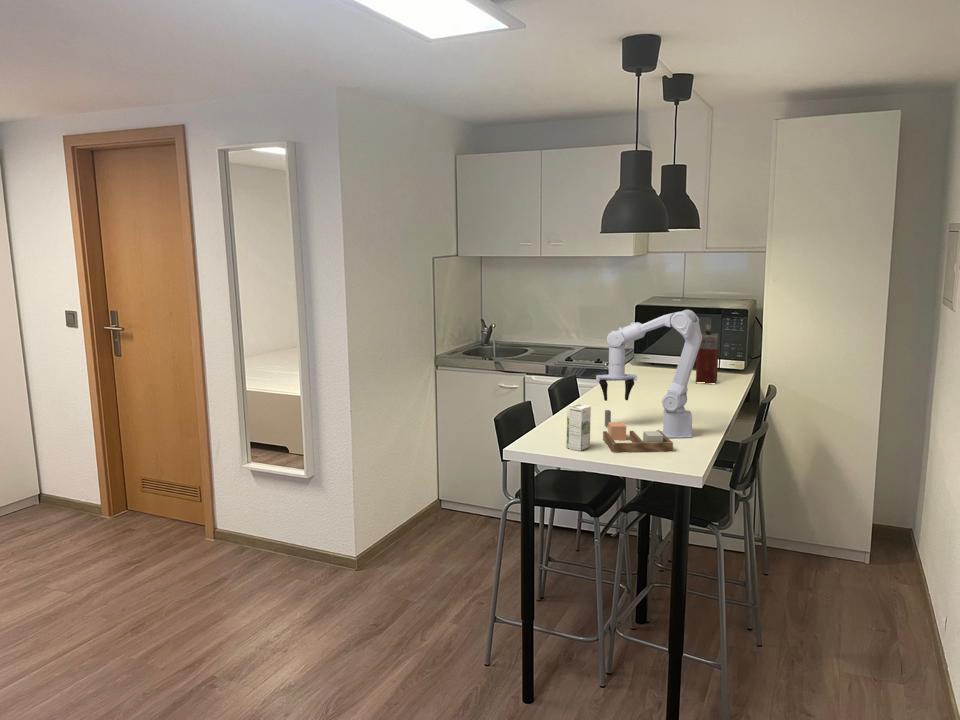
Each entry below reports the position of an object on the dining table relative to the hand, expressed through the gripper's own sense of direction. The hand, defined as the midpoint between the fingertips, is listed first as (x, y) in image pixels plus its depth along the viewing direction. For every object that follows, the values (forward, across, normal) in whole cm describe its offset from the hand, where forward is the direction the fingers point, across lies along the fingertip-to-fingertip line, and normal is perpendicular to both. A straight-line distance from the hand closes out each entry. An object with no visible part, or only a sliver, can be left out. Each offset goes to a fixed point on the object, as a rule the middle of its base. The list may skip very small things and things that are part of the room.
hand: (616, 400), depth 267 cm
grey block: (+11, -7, +27) cm, 30 cm away
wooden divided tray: (+10, -2, +24) cm, 26 cm away
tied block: (+10, +3, +7) cm, 13 cm away
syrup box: (+11, +18, +26) cm, 33 cm away
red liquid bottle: (+11, -61, -84) cm, 104 cm away
